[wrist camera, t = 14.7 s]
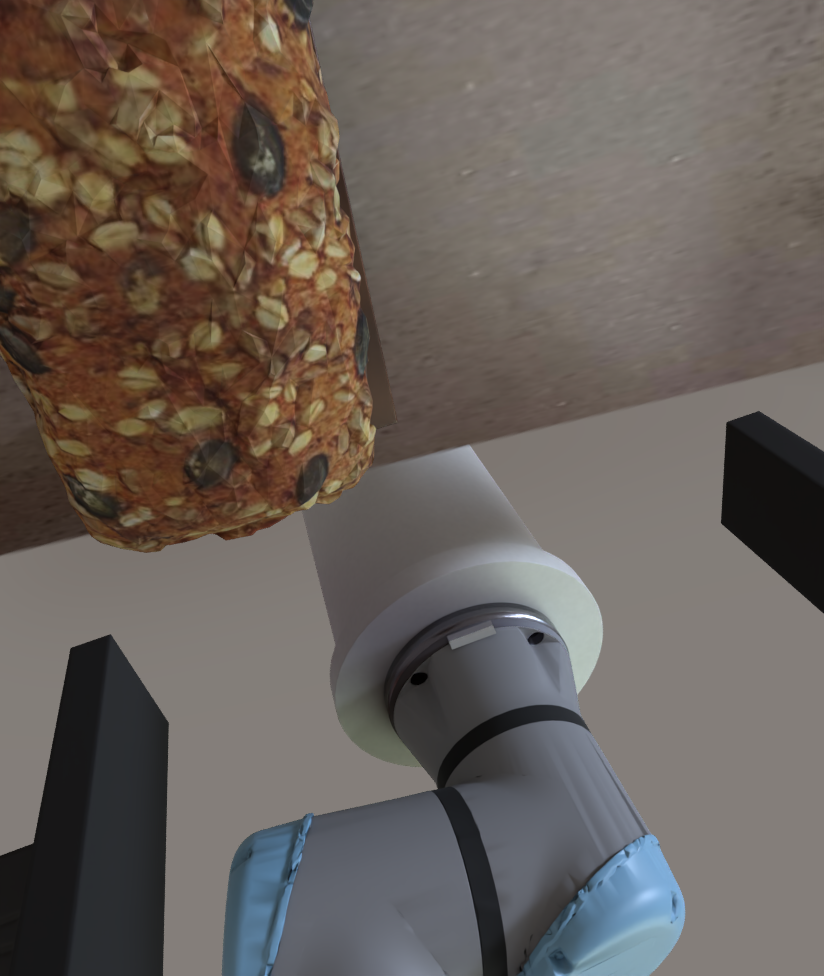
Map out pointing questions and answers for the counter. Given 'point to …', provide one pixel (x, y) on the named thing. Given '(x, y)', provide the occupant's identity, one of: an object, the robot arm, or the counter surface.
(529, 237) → the counter surface
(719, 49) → the counter surface
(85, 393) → the bread
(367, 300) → the shelf
